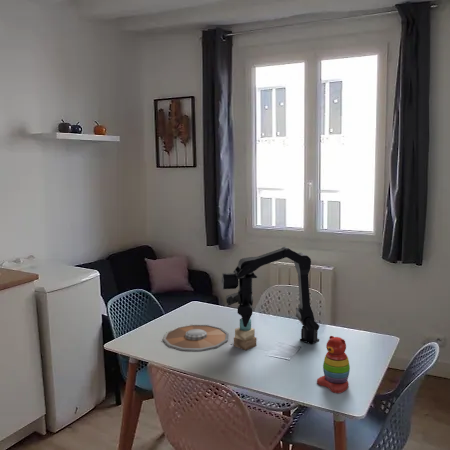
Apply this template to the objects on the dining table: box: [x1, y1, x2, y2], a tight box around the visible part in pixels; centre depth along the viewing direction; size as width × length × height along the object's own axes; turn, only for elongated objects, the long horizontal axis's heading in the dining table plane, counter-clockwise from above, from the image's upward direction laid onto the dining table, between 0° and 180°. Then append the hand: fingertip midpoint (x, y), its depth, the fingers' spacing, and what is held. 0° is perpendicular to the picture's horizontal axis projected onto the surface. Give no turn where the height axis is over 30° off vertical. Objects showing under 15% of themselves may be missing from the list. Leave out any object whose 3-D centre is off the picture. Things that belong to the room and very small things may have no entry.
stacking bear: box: [316, 335, 351, 394], centre depth 172 cm, size 11×10×18 cm
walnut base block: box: [233, 336, 257, 351], centre depth 208 cm, size 7×7×4 cm
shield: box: [162, 324, 229, 352], centre depth 217 cm, size 30×3×30 cm
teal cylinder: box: [239, 317, 252, 331], centre depth 207 cm, size 5×5×4 cm
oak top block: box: [234, 326, 256, 341], centre depth 207 cm, size 6×6×4 cm
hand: (245, 322), depth 207 cm, fingers open, 9 cm apart
